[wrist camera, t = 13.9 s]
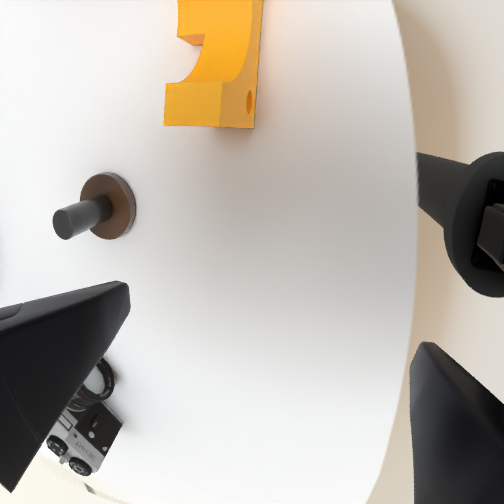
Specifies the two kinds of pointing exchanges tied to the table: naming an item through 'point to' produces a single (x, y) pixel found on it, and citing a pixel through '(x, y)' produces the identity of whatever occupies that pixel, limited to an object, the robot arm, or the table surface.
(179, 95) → the pipe clamp
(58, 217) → the stake
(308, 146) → the table surface
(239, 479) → the table surface
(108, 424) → the camera
